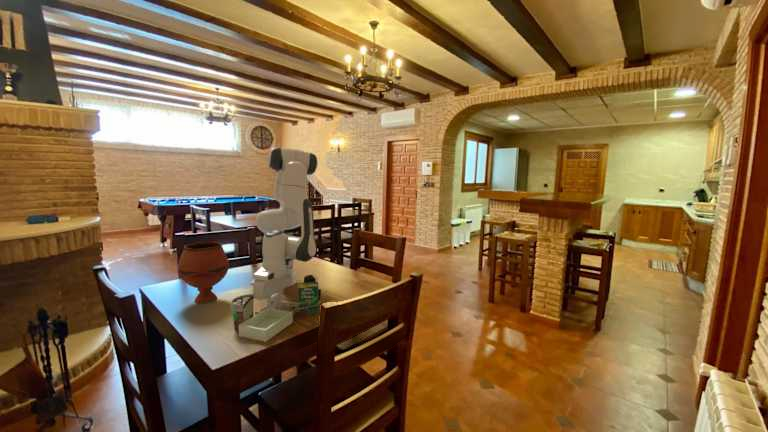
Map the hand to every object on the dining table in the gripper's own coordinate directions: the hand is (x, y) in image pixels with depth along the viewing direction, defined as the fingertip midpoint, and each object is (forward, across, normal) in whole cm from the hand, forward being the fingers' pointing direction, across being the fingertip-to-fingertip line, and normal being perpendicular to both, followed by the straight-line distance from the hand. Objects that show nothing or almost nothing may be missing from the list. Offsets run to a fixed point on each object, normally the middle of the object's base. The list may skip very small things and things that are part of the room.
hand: (274, 302), depth 129 cm
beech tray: (+3, 0, +3) cm, 4 cm away
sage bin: (+3, +14, +8) cm, 17 cm away
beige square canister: (+3, -13, +9) cm, 16 cm away
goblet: (+4, +3, -35) cm, 35 cm away
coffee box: (+3, -2, +15) cm, 15 cm away
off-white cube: (+2, 0, 0) cm, 2 cm away
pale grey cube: (+3, 0, +6) cm, 7 cm away
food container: (+3, +16, -2) cm, 16 cm away
